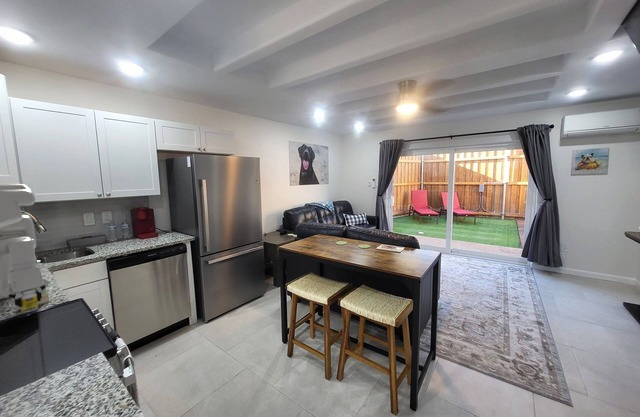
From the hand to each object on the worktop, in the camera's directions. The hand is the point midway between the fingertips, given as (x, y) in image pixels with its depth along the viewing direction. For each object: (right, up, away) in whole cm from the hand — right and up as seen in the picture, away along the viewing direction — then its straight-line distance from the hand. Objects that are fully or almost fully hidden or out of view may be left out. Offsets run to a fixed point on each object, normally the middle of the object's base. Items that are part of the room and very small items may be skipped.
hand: (29, 302), depth 118 cm
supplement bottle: (0, -4, 0) cm, 4 cm away
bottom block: (-5, -3, +8) cm, 9 cm away
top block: (-5, +2, +7) cm, 9 cm away
